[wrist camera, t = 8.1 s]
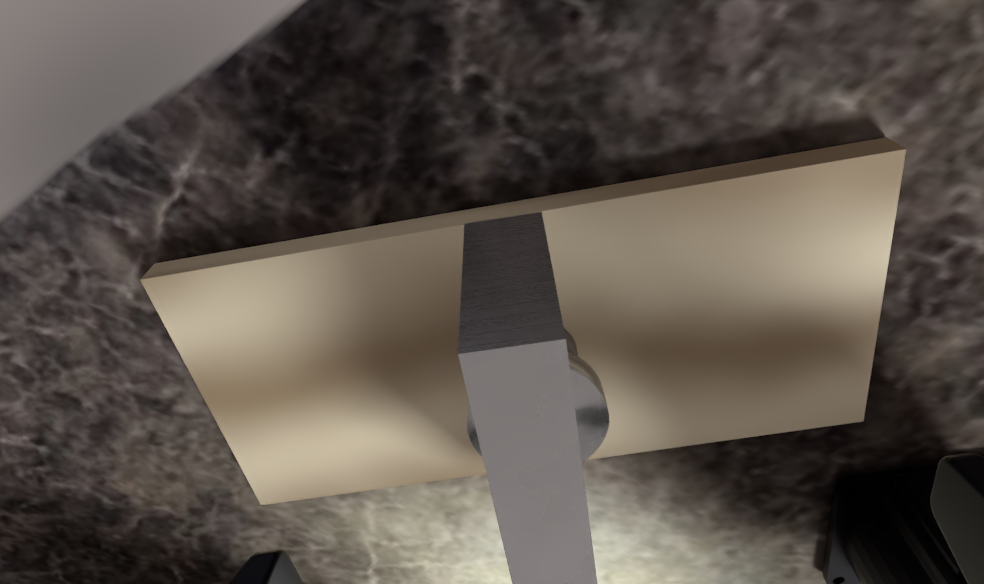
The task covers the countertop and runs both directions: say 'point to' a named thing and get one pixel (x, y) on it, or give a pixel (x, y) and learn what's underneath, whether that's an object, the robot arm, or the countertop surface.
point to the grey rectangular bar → (528, 400)
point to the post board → (585, 314)
